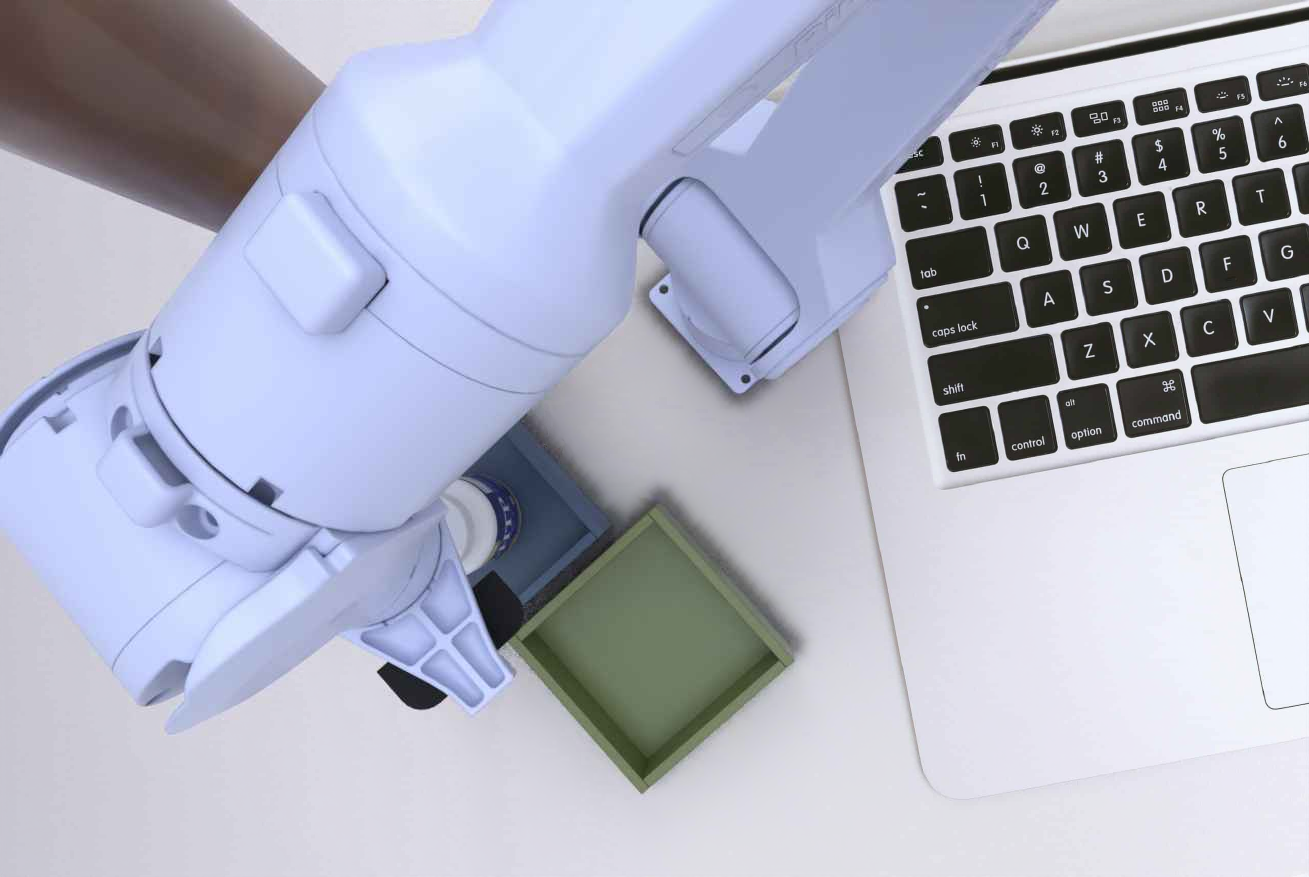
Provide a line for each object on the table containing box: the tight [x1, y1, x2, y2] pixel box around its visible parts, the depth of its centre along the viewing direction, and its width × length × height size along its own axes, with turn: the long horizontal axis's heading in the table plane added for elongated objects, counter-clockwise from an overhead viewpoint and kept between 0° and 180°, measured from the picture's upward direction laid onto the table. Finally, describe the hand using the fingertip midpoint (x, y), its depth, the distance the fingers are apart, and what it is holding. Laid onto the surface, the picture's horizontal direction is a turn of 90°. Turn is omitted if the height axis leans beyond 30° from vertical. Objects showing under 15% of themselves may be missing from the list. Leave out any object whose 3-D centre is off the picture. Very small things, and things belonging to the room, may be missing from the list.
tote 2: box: [507, 501, 795, 795], centre depth 49 cm, size 11×11×4 cm
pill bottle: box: [439, 474, 521, 575], centre depth 46 cm, size 5×5×9 cm
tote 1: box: [461, 419, 614, 607], centre depth 49 cm, size 11×11×4 cm
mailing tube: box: [0, 0, 328, 234], centre depth 27 cm, size 5×5×48 cm
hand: (402, 551), depth 40 cm, fingers open, 7 cm apart
